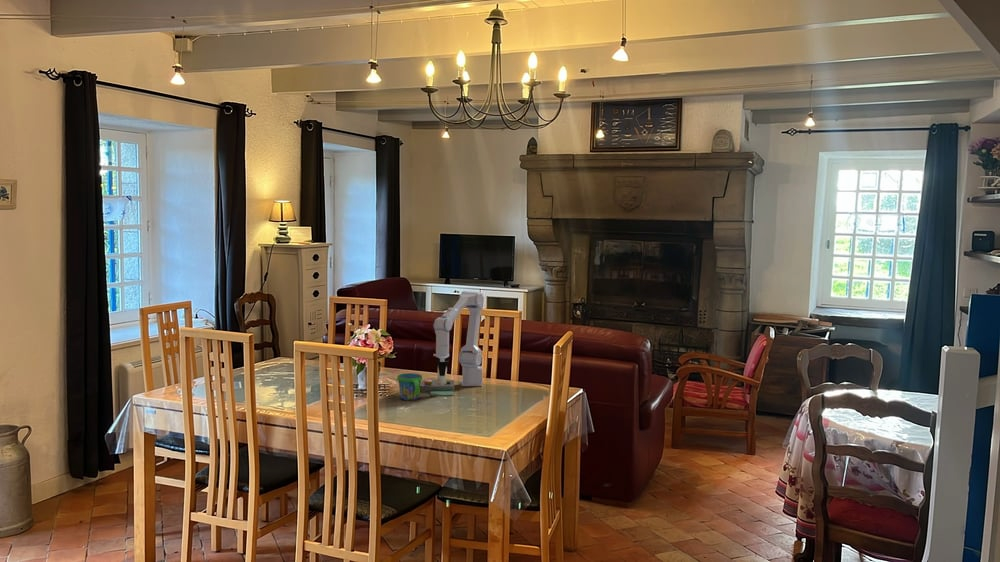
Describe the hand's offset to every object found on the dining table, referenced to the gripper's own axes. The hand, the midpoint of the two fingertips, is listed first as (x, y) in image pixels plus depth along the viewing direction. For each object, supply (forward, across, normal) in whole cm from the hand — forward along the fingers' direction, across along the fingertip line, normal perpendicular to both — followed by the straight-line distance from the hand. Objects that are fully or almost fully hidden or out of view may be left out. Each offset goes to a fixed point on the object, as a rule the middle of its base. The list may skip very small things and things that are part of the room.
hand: (442, 374), depth 327 cm
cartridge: (+4, 0, 0) cm, 4 cm away
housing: (+9, -11, -2) cm, 14 cm away
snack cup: (+9, +8, -14) cm, 19 cm away
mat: (+9, 0, 0) cm, 9 cm away
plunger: (+8, -11, -7) cm, 15 cm away
